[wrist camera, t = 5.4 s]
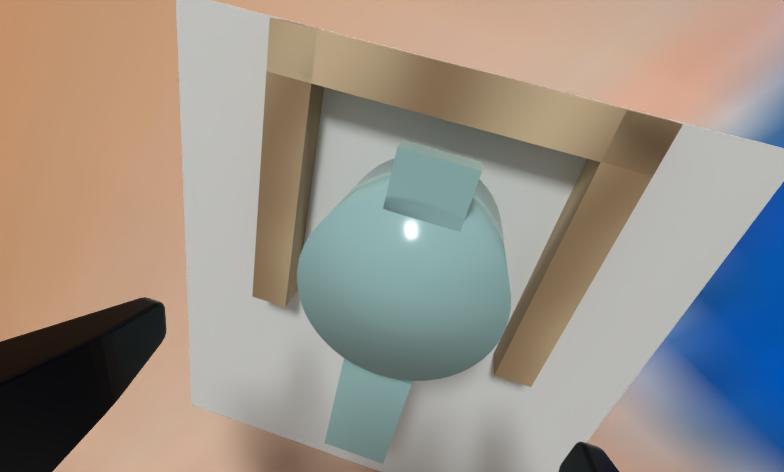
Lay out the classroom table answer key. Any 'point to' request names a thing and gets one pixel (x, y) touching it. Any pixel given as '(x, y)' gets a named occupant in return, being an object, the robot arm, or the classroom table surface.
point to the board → (522, 248)
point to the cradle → (471, 108)
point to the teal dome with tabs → (404, 287)
